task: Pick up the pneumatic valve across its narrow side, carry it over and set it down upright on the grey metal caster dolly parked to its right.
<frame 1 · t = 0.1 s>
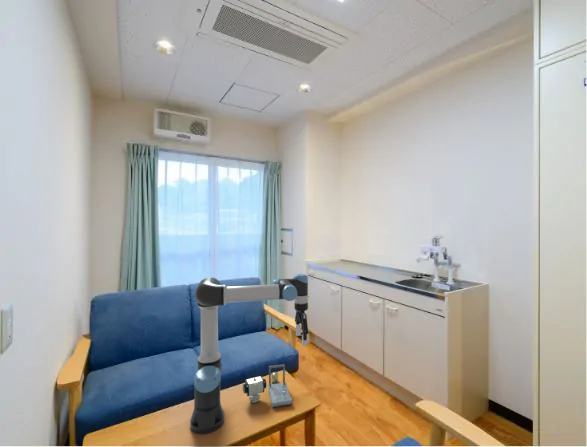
hand: (301, 340, 153), 28 cm above the table, fingers open, 13 cm apart
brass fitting: (274, 382, 161), on the table
pneumatic valve: (254, 401, 144), on the table
dolly: (279, 397, 147), on the table
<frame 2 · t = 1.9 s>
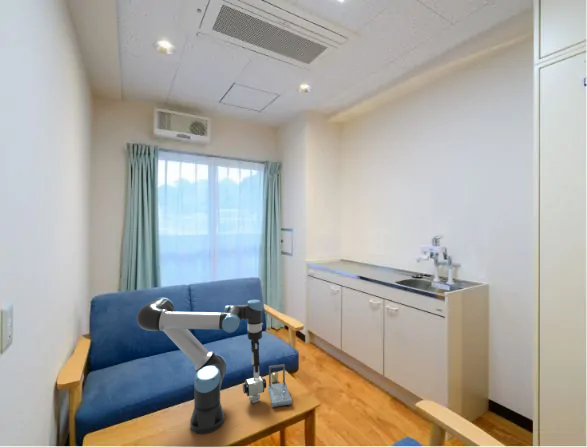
hand: (255, 370, 144), 16 cm above the table, fingers open, 13 cm apart
nothing on the table moved.
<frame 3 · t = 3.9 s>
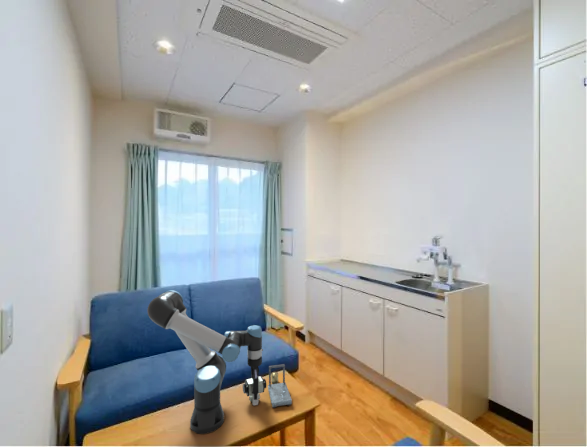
hand: (254, 400, 144), 0 cm above the table, fingers closed on pneumatic valve, 6 cm apart
pneumatic valve: (254, 401, 144), on the table, touching gripper
everything else where it was.
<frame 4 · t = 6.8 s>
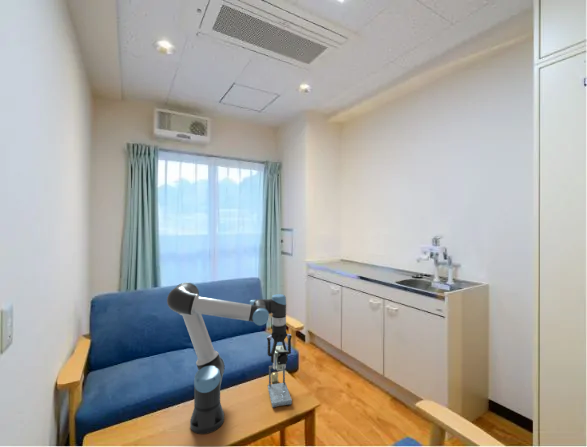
hand: (279, 367, 147), 16 cm above the table, fingers closed on pneumatic valve, 5 cm apart
pneumatic valve: (278, 369, 146), point 15 cm above the table, touching gripper
everything else where it was.
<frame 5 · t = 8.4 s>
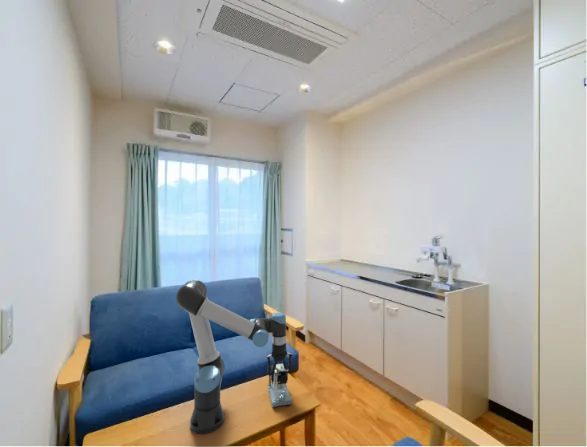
hand: (279, 386, 147), 6 cm above the table, fingers closed on pneumatic valve, 5 cm apart
pneumatic valve: (278, 388, 146), point 5 cm above the table, touching gripper
everything else where it was.
when the fingers open (5 cm above the table, at t = 9.4 s): pneumatic valve stays where it is, resting on dolly.
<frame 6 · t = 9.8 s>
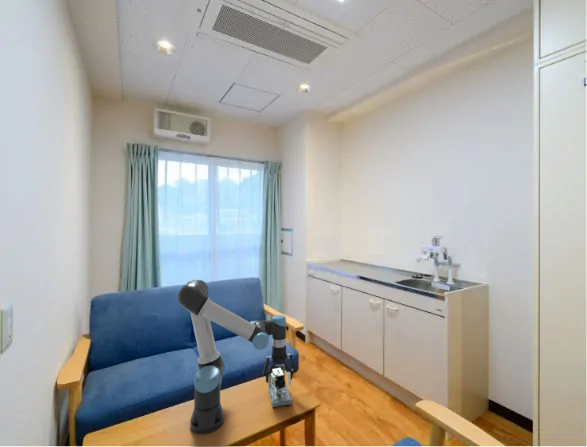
hand: (279, 386, 147), 6 cm above the table, fingers open, 10 cm apart
pneumatic valve: (278, 392, 146), point 3 cm above the table, touching dolly
everything else where it was.
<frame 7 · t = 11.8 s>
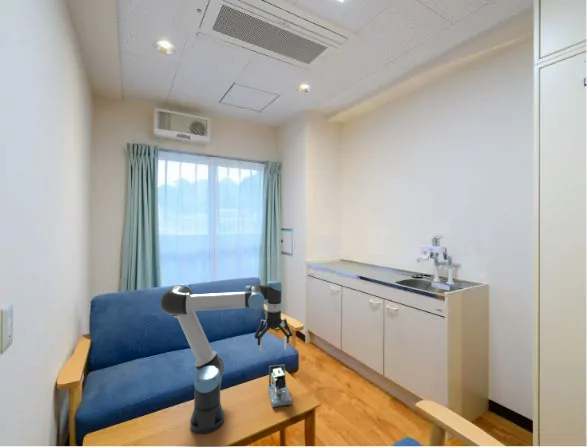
hand: (273, 350, 147), 25 cm above the table, fingers open, 13 cm apart
nothing on the table moved.
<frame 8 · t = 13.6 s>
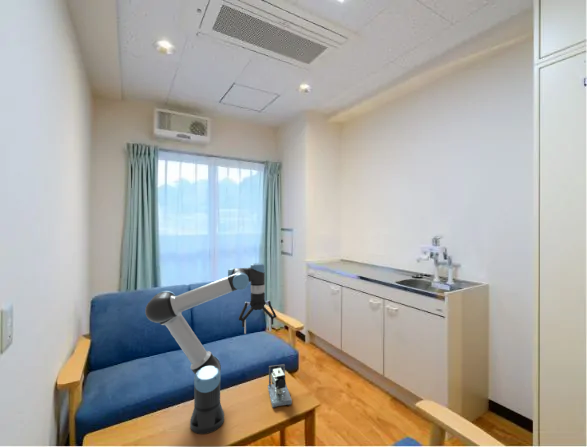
hand: (257, 331, 148), 35 cm above the table, fingers open, 13 cm apart
nothing on the table moved.
at the end: pneumatic valve inside the target area on the dolly (0.9 cm from its centre), point 2.8 cm above the dolly's base; pneumatic valve tilted 0°; the gripper is holding nothing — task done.
